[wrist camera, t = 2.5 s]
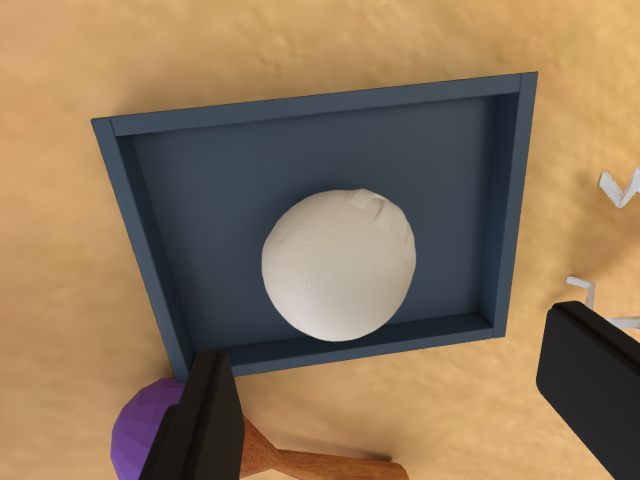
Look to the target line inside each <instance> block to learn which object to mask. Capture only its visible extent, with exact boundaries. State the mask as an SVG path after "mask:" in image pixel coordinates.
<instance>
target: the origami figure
mask: <svg viewBox="0 0 640 480" xmlns="http://www.w3.org/2000/svg"><path fill="white" fill-rule="evenodd" d="M599 186H600V187H601V188H602V189H603V190H604V192H605V193H606V194H607V195H608V196H609V198H610V199H611V200H612V201H613V202H614V204H615V205H616V206H617V207H618V208H623V207H624V205H625V204H626V203H627V202H628V201H629V200H630V199H631V198H632V197H633V195H634V194H635V193H636V192H638V193H640V168H638V167H636V168H635V170H634V172H633V174H632V176H631V178H630V180H629V182H628V184H627V186H626V188H625V190H624V192H622V191H621V189H620V188H619V187H618V185H617V184H616V183H615V181H614V180H613V178H612V177H611V176H610V174H609V173H607V172H602V176H601V179H600V183H599ZM565 283H569V284H572V285H575V286H579V287H582V288H585V289H588V292H587V296H586V300H585V306H587V307H588V308H590V309H591V310H593V302H594V292H595V282H591V281H588V280H584V279H581V278H578V277H574V276H568V278H567V280H566V282H565ZM604 319H606V320H607V321H609V322H610V323H611V324H613V325H614V326H616V327H617V328H630V329H640V316H638V317H620V318H604Z"/></svg>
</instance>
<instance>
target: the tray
mask: <svg viewBox="0 0 640 480" xmlns="http://www.w3.org/2000/svg"><path fill="white" fill-rule="evenodd" d="M537 78H538V72H537V71H536V72H527V73H517V74H508V75H498V76H489V77H479V78H470V79H460V80H451V81H441V82H432V83H423V84H413V85H404V86H394V87H385V88H375V89H366V90H356V91H347V92H338V93H328V94H319V95H309V96H300V97H290V98H281V99H271V100H262V101H253V102H243V103H234V104H224V105H215V106H205V107H196V108H187V109H177V110H168V111H158V112H149V113H139V114H130V115H120V116H111V117H102V118H92V119H91V123H92V126H93V129H94V132H95V135H96V138H97V141H98V144H99V147H100V150H101V153H102V156H103V159H104V162H105V165H106V169H107V172H108V175H109V178H110V181H111V184H112V187H113V190H114V193H115V196H116V199H117V202H118V205H119V208H120V211H121V214H122V217H123V220H124V223H125V226H126V229H127V232H128V235H129V239H130V242H131V245H132V248H133V251H134V254H135V257H136V260H137V263H138V266H139V269H140V272H141V275H142V278H143V281H144V284H145V287H146V290H147V293H148V296H149V299H150V302H151V305H152V309H153V312H154V315H155V318H156V321H157V324H158V327H159V330H160V333H161V336H162V339H163V342H164V345H165V348H166V351H167V354H168V357H169V360H170V363H171V366H172V369H173V372H174V376H175V379H176V382H177V383H186V382H187V379H188V376H189V373H190V371H191V368H192V365H193V362H194V360H195V357H196V354H197V352H198V351H200V350H208V349H215V348H219V349H220V350H221V353H227V354H228V356H229V360H230V364H231V369H232V373H233V377H236V376H243V375H250V374H256V373H263V372H270V371H277V370H283V369H290V368H297V367H303V366H310V365H317V364H324V363H330V362H337V361H344V360H351V359H357V358H364V357H371V356H377V355H384V354H391V353H398V352H404V351H411V350H418V349H425V348H431V347H438V346H445V345H451V344H458V343H465V342H472V341H478V340H485V339H491V338H500V337H505V333H506V325H507V317H508V309H509V301H510V293H511V285H512V277H513V269H514V261H515V253H516V245H517V237H518V229H519V221H520V213H521V205H522V198H523V190H524V182H525V174H526V166H527V158H528V150H529V142H530V134H531V126H532V118H533V110H534V102H535V94H536V86H537ZM356 189H366V190H369V191H371V192H374V193H376V194H378V195H380V196H382V197H384V198H386V199H387V200H389V201H390V202H391V203H393V204H395V205H397V206H398V207H399V208H400V209H401V210H402V211H403V213H404V215H405V217H406V220H407V222H408V223H409V224H410V227H411V230H412V233H413V236H414V241H415V246H414V247H415V251H416V265H415V270H414V272H413V276H412V280H411V283H410V286H409V288H408V291H407V294H406V296H405V298H404V300H403V302H402V304H401V305H400V307H399V308H398V310H397V311H396V312H395V313H394V314H393V316H392V317H391V318H390V319H389V320H388V321H387V322H386V323H384V324H383V325H382V326H381V327H379V328H378V329H376V330H375V331H373V332H371V333H369V334H367V335H364V336H362V337H360V338H357V339H352V340H346V341H326V340H321V339H318V338H315V337H312V336H310V335H308V334H306V333H304V332H302V331H300V330H298V329H297V328H295V327H293V326H292V325H291V324H290V323H289V322H288V321H287V320H286V319H285V318H284V317H283V316H282V315H281V314H280V313H279V311H278V310H277V309H276V307H275V306H274V304H273V303H272V301H271V299H270V297H269V295H268V293H267V291H266V288H265V284H264V279H263V275H262V251H263V246H264V243H265V241H266V239H267V237H268V236H269V234H270V233H271V231H272V229H273V228H274V226H275V225H276V223H277V222H278V220H279V219H280V218H281V217H282V216H283V214H284V213H286V212H287V211H288V210H289V209H290V208H291V207H293V206H294V205H296V204H297V203H299V202H300V201H302V200H304V199H305V198H307V197H309V196H312V195H314V194H317V193H321V192H326V191H331V190H349V191H350V190H356Z"/></svg>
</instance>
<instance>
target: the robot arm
mask: <svg viewBox="0 0 640 480" xmlns="http://www.w3.org/2000/svg"><path fill="white" fill-rule="evenodd" d="M536 384H537V387H538V390H539V391H540V393H541V394H542V395H543V396H544V398H545V399H546V400H547V401H548V402H549V403H550V405H551V406H552V407H553V408H554V409H555V410H556V412H557V413H558V414H559V415H560V416H561V417H562V419H563V420H564V421H565V422H566V423H567V424H568V426H569V427H570V428H571V429H572V430H573V431H574V433H575V434H576V435H577V436H578V437H579V438H580V440H581V441H582V442H583V443H584V444H585V445H586V447H587V448H588V449H589V450H590V451H591V452H592V454H593V455H594V456H595V457H596V458H597V459H598V460H599V462H600V463H601V464H602V465H603V466H604V467H605V469H606V470H607V471H608V472H609V473H610V474H611V476H612V477H613V478H614V479H615V480H640V343H639V342H637V341H636V340H634V339H633V338H632V337H630V336H629V335H627V334H626V333H624V332H623V331H622V330H620V329H619V328H617V327H616V326H614V325H613V324H611V323H610V322H609V321H607V320H606V319H604V318H603V317H601V316H600V315H598V314H597V313H596V312H594V311H593V310H591V309H590V308H588V307H587V306H585V305H584V304H583V303H581V302H579V301H568V302H560V303H555V304H554V305H553V306H552V308H551V309H550V310H549V311H548V313H547V318H546V323H545V329H544V335H543V341H542V347H541V353H540V359H539V365H538V370H537V376H536ZM244 439H245V422H244V418H243V414H242V409H241V405H240V401H239V397H238V393H237V389H236V385H235V381H234V377H233V373H232V369H231V364H230V360H229V356H228V354H227V353H221V350H220V349H219V348H215V349H208V350H200V351H198V352H197V354H196V357H195V360H194V362H193V365H192V368H191V371H190V373H189V376H188V379H187V382H186V384H185V387H184V390H183V393H182V395H181V398H180V401H179V404H173V405H170V406H169V407H167V409H166V411H165V413H164V415H163V418H162V420H161V423H160V426H159V428H158V431H157V433H156V436H155V438H154V441H153V443H152V446H151V448H150V451H149V453H148V456H147V458H146V461H145V463H144V466H143V468H142V471H141V473H140V476H139V479H138V480H239V477H240V469H241V462H242V454H243V446H244Z"/></svg>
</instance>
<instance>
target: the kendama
mask: <svg viewBox="0 0 640 480" xmlns="http://www.w3.org/2000/svg"><path fill="white" fill-rule="evenodd" d="M185 384H186V383H177V382H176V379H175V377H174V378H165V379H160V380H158V381H156V382H154V383H152V384H150V385H148V386H147V387H145V388H143V389H141V390H140V391H139V392H138V393H137V394H136V395H135V396H134V397H133V398H132V399H131V400H130V401H129V402H128V403H127V404H126V405H125V406H124V407H123V409H122V410H121V412H120V414H119V416H118V418H117V420H116V422H115V425H114V427H113V430H112V441H111V454H110V457H111V460H112V462H113V465H114V468H115V470H116V473H117V476H118V478H119V480H138V479H139V476H140V473H141V471H142V468H143V466H144V463H145V461H146V458H147V456H148V453H149V451H150V448H151V446H152V443H153V441H154V438H155V436H156V433H157V431H158V428H159V426H160V423H161V420H162V418H163V415H164V413H165V411H166V409H167V407H169V406H170V405H173V404H179V401H180V398H181V395H182V393H183V390H184V387H185ZM243 418H244V422H245V439H244V446H243V454H242V462H241V469H240V477H239V479H241V478H244V477H247V476H250V475H253V474H256V473H259V472H262V471H266V470H269V469H274V470H277V471H279V472H282V473H284V474H287V475H289V476H292V477H294V478H297V479H299V480H409V478H408V475H407V472H406V470H405V469H404V468H403V467H402V465H400V464H397V463H393V462H385V461H376V460H367V459H359V458H350V457H342V456H333V455H324V454H316V453H307V452H299V451H290V450H281V449H276V448H275V447H274V446H273V445H272V444H271V443H270V442H269V441H268V440H267V439H266V438H265V437H264V436H263V435H262V434H261V433H260V432H259V431H258V430H257V429H256V428H255V427H254V426H253V425H252V423H251V422H250V421H249V420H248V419H247V418H246V417H245V416H244V415H243Z"/></svg>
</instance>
